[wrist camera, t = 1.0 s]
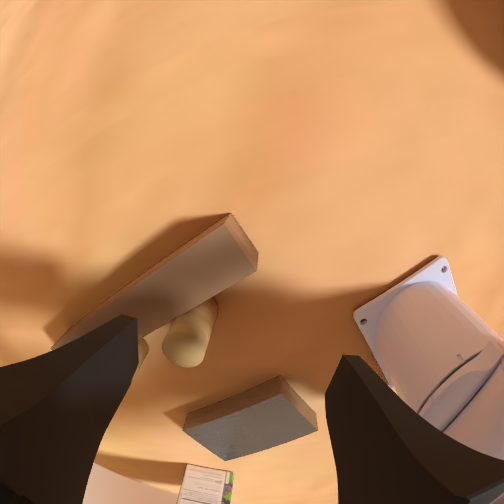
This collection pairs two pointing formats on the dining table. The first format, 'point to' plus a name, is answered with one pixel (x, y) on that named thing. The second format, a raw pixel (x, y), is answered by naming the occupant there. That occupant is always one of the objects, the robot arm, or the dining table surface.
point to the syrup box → (205, 486)
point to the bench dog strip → (179, 293)
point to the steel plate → (252, 420)
